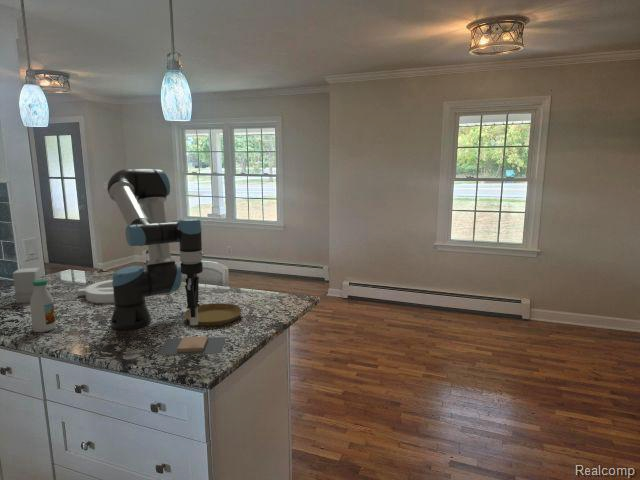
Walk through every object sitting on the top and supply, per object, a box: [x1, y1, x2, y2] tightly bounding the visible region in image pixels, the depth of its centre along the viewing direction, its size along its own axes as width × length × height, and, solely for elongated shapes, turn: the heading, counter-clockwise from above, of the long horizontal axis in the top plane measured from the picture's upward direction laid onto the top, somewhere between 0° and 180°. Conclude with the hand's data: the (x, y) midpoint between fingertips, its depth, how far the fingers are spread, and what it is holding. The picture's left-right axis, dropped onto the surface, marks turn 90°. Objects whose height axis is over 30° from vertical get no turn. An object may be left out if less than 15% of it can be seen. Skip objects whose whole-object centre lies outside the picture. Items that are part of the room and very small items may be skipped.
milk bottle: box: [29, 278, 57, 333], centre depth 163 cm, size 8×8×20 cm
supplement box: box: [12, 267, 42, 304], centre depth 199 cm, size 9×9×15 cm
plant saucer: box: [184, 302, 243, 327], centre depth 179 cm, size 24×24×3 cm
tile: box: [177, 335, 209, 352], centre depth 150 cm, size 9×1×10 cm
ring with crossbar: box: [76, 279, 114, 304], centre depth 211 cm, size 28×28×5 cm
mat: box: [156, 336, 227, 356], centre depth 150 cm, size 22×14×1 cm, turn 96°
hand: (194, 324), depth 152 cm, fingers closed
